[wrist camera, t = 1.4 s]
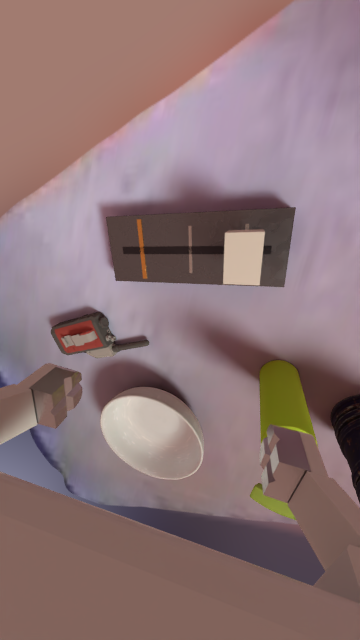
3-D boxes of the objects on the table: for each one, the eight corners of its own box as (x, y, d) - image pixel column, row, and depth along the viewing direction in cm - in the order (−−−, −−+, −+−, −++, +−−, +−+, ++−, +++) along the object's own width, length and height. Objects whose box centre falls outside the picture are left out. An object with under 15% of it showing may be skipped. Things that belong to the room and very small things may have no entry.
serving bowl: (218, 391, 42) (212, 420, 36) (201, 461, 52) (193, 493, 46) (117, 361, 47) (96, 382, 41) (117, 430, 56) (101, 456, 50)
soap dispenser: (258, 354, 37) (261, 478, 20) (304, 366, 36) (350, 511, 18) (249, 382, 40) (243, 513, 22) (291, 394, 38) (320, 544, 21)
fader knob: (262, 228, 27) (264, 231, 21) (258, 271, 29) (259, 285, 23) (231, 228, 28) (224, 232, 22) (229, 270, 30) (223, 284, 24)
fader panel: (291, 208, 28) (295, 207, 25) (281, 281, 32) (284, 287, 29) (117, 216, 35) (105, 216, 32) (125, 276, 38) (115, 280, 36)
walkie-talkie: (75, 358, 51) (153, 344, 43) (60, 370, 47) (143, 356, 39) (55, 322, 48) (135, 300, 40) (38, 332, 44) (122, 309, 36)
